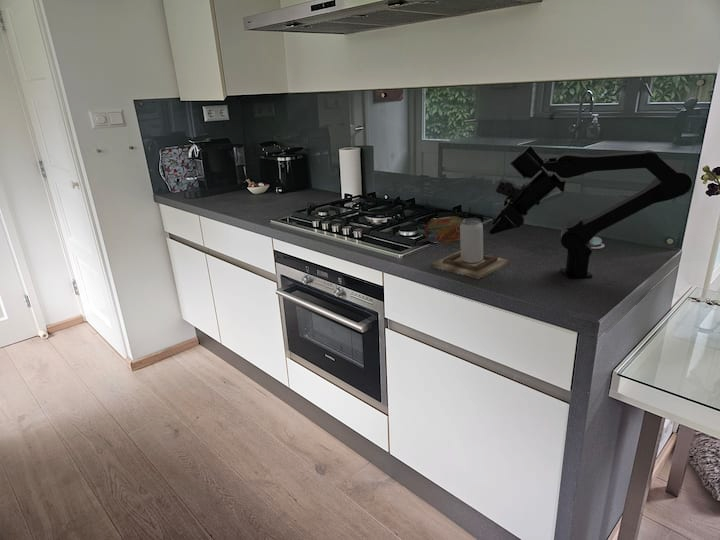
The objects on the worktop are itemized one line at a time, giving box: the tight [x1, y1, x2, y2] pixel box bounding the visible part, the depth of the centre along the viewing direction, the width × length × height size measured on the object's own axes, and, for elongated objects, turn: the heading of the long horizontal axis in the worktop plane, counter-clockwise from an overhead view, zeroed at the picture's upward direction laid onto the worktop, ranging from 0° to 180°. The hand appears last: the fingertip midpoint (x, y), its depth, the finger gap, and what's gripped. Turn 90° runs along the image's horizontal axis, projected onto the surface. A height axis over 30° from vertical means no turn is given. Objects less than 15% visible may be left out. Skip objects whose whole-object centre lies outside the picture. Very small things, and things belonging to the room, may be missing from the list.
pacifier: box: [590, 236, 605, 250], centre depth 155 cm, size 7×6×6 cm
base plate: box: [431, 250, 509, 280], centre depth 144 cm, size 16×16×2 cm
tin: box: [424, 215, 465, 244], centre depth 166 cm, size 15×3×8 cm, turn 105°
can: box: [459, 217, 484, 263], centre depth 142 cm, size 6×6×12 cm
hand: (491, 228), depth 138 cm, fingers open, 9 cm apart
